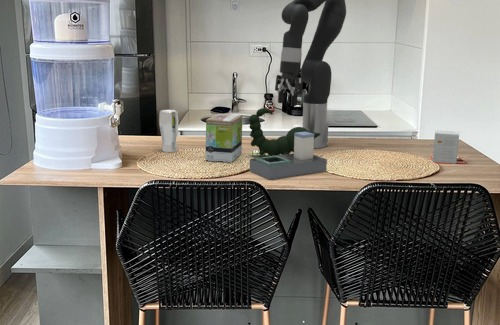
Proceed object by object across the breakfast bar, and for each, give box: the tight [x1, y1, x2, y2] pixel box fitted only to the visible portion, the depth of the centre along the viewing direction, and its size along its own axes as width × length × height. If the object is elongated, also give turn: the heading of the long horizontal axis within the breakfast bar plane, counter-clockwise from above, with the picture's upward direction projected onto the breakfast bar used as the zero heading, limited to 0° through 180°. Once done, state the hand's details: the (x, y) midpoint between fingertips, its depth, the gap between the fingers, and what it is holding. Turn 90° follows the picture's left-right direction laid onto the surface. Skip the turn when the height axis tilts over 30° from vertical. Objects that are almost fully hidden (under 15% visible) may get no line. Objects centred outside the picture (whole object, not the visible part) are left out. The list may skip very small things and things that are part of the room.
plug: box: [293, 132, 314, 160], centre depth 180 cm, size 5×5×12 cm
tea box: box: [204, 113, 243, 163], centre depth 195 cm, size 15×10×15 cm, turn 168°
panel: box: [249, 152, 328, 181], centre depth 178 cm, size 22×12×5 cm, turn 121°
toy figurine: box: [248, 107, 320, 156], centre depth 196 cm, size 9×19×25 cm
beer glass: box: [158, 109, 179, 153], centre depth 204 cm, size 7×7×15 cm
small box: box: [432, 129, 460, 165], centre depth 194 cm, size 8×6×10 cm
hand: (286, 104), depth 206 cm, fingers open, 8 cm apart
